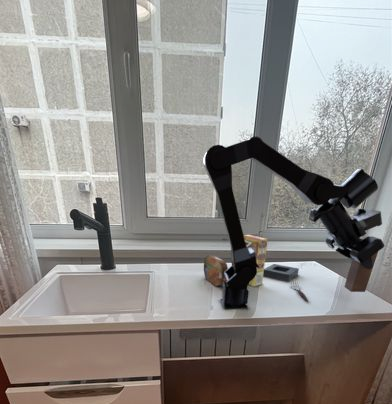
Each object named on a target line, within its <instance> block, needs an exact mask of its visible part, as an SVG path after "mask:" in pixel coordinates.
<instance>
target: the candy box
mask: <svg viewBox="0 0 392 404" xmlns="http://www.w3.org/2000/svg"><path fill="white" fill-rule="evenodd" d="M243 235H244V239H245V243H246V246H247V248H250V247H251V248H252V249H253V250H254V251H255V253H256V262H257V264H258V266H259V267H256V268H257V275H256V276H255V278H254V279H253V280H251V281H250V282H249V284H248V286H251V287H257V286H263V280H264V276H263V273H264V269H265V266H266V265H265V264H266V257H267V256H266V254H267V247H268V238H266V237H261V236H257V235H252V234H243Z"/></svg>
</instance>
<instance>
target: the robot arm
mask: <svg viewBox="0 0 392 404" xmlns="http://www.w3.org/2000/svg"><path fill="white" fill-rule="evenodd" d="M247 160H252V161H253V162H255V163H256V164H258V165H259V166H261V167H263V168H264V169H266V170H267V171H268V172H270V173H272V174H273V175H274V176H276V177H277V178H279V179H280V180H282V181H283V182H285V183H287V184H288V185H289V186H290V187H291V188H292V189H293V191H294V192H295V193H296V194H297V196H299V197H300V199H302V200H303V201H304V202H305V203H306V204H307V203H308V204H311V205H315V206H318V207H317V208H315V209H314V208H311V209H310V214H309V217H308V220H309V221H311V222H314V223H316V222H318V220H319V221H320V222H321V223H322V225H323V226H324V228H325V229H326V231H325V232H326V234H327V237H326V240H325V244H326V245H327V247H328V248H330V249H332V250H334V249H335V252H336V253H338V254H340V255H342V256H344V257H345V258H347V259H348V260H351V261H352V260H353V261H355V262H357V263H359V264H360V265H362V266H364V267H366V268H367V269H371V268H373V269H374V266H373V263H372V256H373V255H374V254H376V253H377V252H378V253H379V252H380V251H381V250H382V249H383V248H385V243H384V241H383V240H382V238H379V237H376V236H370V235H369V236H366V237H365V238H361V237H364V236H365V235H366V234H367V231H369V230H371V229H374V228H376V227H380V226H382V225H383V220H382V219H383V218H382V212H381V211H380V210H375V209H367V210H366V209H365V208H362V207H359V206H360V205H361V204H363V203H364V202H365V201H366V200H367V199H369V198H370V197H371V196H372V195H373V194H375V193H376V192H377V191H378V190H379V185H378V182H377V181H376V179H375V178H373V177H372V176H371V175H370V174H369V173H367V172H366V171H365V170H364V168H357V169H356V170H355V171H354V172H353V173H352V174H351V175H350V176H349V177H348V178H347V179H346V180H344V182H342V183H341V184H335V183H334V181H332V180H331V178H328V177H326V176H323V175H320V174H318V173H315V172H312V171H309V170H306V169H304V168H302V167H301V166H299V164H296V163H295V162H293V161H292V160H291V159H289V158H288V157H286V156H285V155H283V154H282V153H280V152H279V151H277V150H276V149H275V148H273V147H272V146H270V145H269V144H268V143H266V142H264V140H263V139H262V138H261V137H259V136H252V137H250V138H248V139H246V140H243V141H240V142H237V143H234V144H232V145H229V146H224V145H222V144H215V145H212V146H211V147H209V149H208V150H207V151H206V152H205V154H204V156H203V160H202V161H203V167H204V170H205V172H206V174H207V176H208V179H209V181H210V183H211V185H212V187H213V189H214V191H215V193H216V197H217V201H218V204H219V208H220V211H221V215H222V219H223V223H224V226H225V231H226V234H227V237H228V241H229V246H230V260H231V261H230V262H231V265H230V266H229V267H228V269H227V270H226V271H225V272H224V276H225V279H226V281H227V282H223V285H222V295H221V297H222V298H220V302H221V304H222V306H223V308H224V309H225V310H234V309H236V310H237V309H239V310H240V309H241V310H242V309H248V305H247V304H248V303H249V294H250V290H249V289H248V288H249V287H248V286H249V282H250V281H251V280H253V279H254V278H255V276H256V275H257V268H256V267H259V266H258V264H257V262H256V253H255V251H254V250H253V249H252V248H251V247H250V248H247V246H246V243H245V239H244V235H245V234H244V232H243V227H242V223H241V219H240V215H239V211H238V207H237V203H236V198H235V195H234V194H235V193H234V189H233V168H232V166H234V165H236V164H238V163H239V164H240V163H242V162H245V161H247ZM358 207H359V208H358ZM350 208H353V209H355V210H354V211H353V216H351V215H350V213H349V212H348V211H347V209H350ZM335 247H337V248H335Z"/></svg>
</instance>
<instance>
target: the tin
mask: <svg viewBox="0 0 392 404" xmlns="http://www.w3.org/2000/svg"><path fill="white" fill-rule="evenodd" d="M228 268H229V267H228V264H227V262H226V261H225V260H223V259H222V258H220V257H218V256H216V255H207V256H206V257H205V258H204V262H203V273H204V276H205V279H206V280H207V281H208V282H210V283H211V284H213V285H214V286H215V287H218V286H219V287H220V286H223V282H227V281H226V279H225V276H224V272H225V271H226V270H227V269H228Z"/></svg>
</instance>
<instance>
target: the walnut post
mask: <svg viewBox="0 0 392 404" xmlns="http://www.w3.org/2000/svg"><path fill="white" fill-rule="evenodd" d="M378 253H379V251H378V252H377V253H376V254H374V255H373V256H372V263H373V268H371V269H367V268H366V267H364V266H362V265H360V264H359V263H357V262H355V261H353V260H351V262H350V264H349V265H350V266H349V268H348V273H347V276H346V279H345V280H346V281H345V283H344V286H343V287H344V288H345V289H346V290H348V291H349V292H351V293H366V290H367V288H368V284H369V281H370V278H371V276H372V272H373V269H374V266H375V263H376V260H377V256H378V255H379V254H378Z"/></svg>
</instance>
